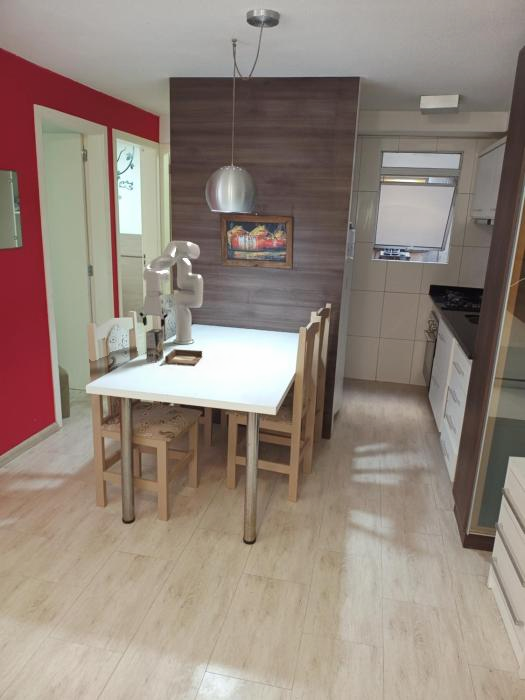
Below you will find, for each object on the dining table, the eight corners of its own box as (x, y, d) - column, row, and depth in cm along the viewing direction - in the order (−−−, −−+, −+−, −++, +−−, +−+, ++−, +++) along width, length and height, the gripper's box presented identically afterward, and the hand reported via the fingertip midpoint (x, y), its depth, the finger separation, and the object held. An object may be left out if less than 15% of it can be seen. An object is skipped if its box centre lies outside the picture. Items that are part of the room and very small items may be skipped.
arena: (174, 356, 294) (174, 349, 293) (202, 357, 292) (202, 350, 291) (165, 363, 279) (165, 356, 278) (194, 365, 277) (194, 358, 276)
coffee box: (157, 362, 282) (156, 332, 278) (146, 361, 283) (145, 332, 279) (163, 357, 290) (163, 329, 286) (152, 356, 292) (152, 328, 288)
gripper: (171, 293, 280) (171, 325, 284) (140, 292, 282) (140, 323, 286) (166, 295, 273) (167, 327, 277) (135, 294, 275) (135, 326, 279)
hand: (153, 325), depth 281 cm, fingers open, 9 cm apart
